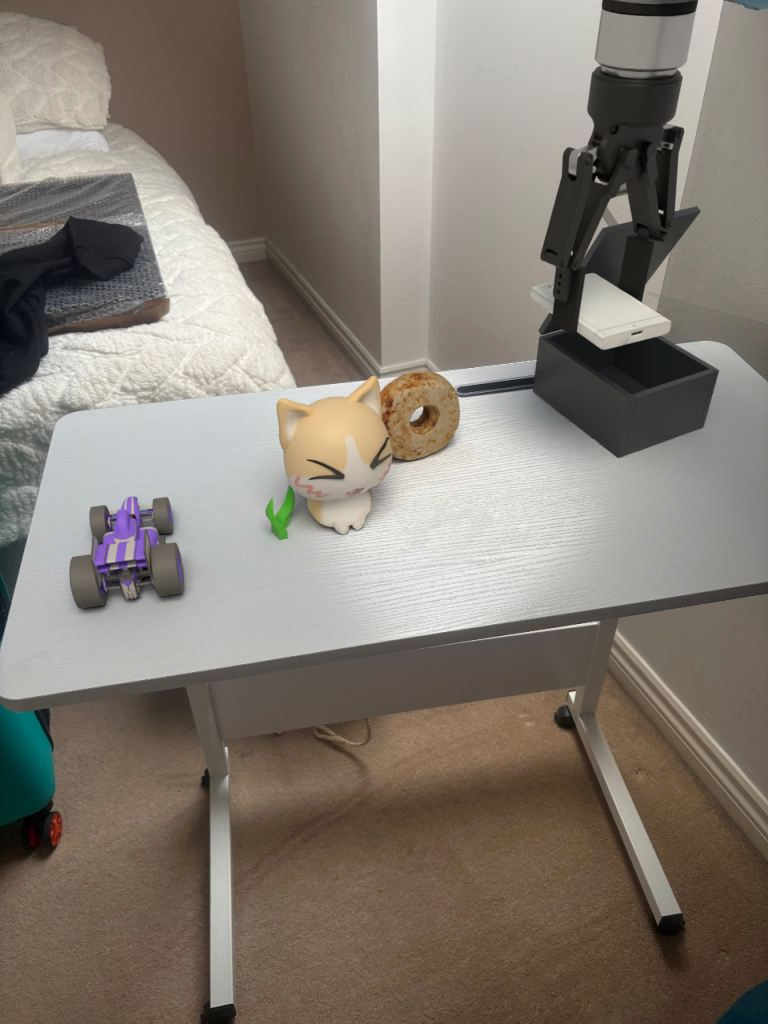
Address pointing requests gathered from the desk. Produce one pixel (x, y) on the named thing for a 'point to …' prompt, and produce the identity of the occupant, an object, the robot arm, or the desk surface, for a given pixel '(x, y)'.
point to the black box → (624, 389)
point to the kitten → (333, 457)
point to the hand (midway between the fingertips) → (597, 313)
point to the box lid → (611, 247)
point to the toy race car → (127, 553)
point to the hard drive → (608, 313)
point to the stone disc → (432, 423)
